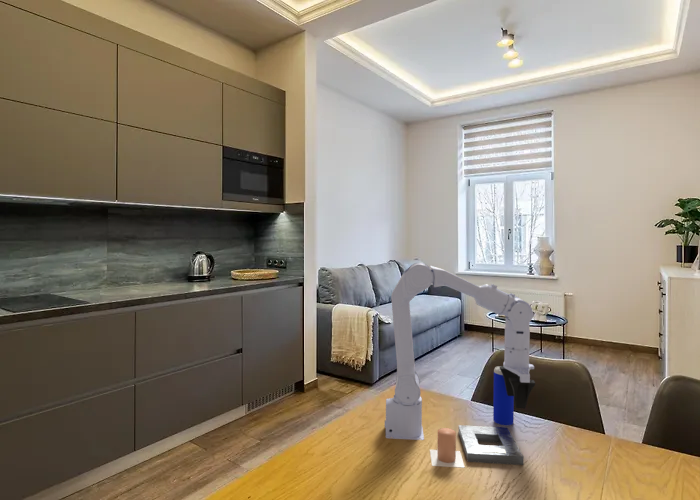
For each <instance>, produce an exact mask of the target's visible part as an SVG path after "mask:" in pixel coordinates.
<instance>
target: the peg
mask: <svg viewBox="0 0 700 500" xmlns="http://www.w3.org/2000/svg"><path fill="white" fill-rule="evenodd" d="M456 437H457V432H456V430H454V429H451V428H448V427H441V428H439V429H437V450H438V459H439V460H440V461H442V462H445V463H452V462H454V461H455V460H456V451H457V450H456V448H457V446H456V444H457V443H456V441H457V439H456Z"/></svg>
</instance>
